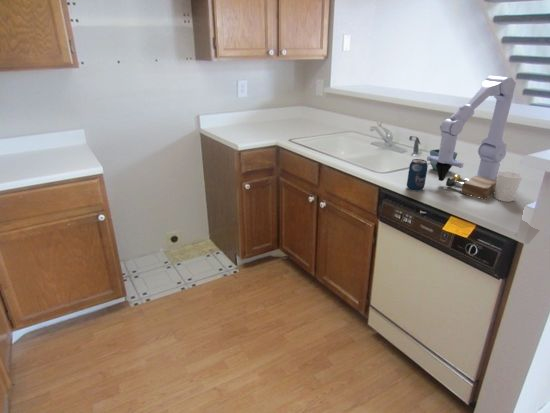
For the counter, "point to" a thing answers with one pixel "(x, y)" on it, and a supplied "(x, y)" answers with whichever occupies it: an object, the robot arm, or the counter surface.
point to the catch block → (479, 187)
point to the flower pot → (436, 153)
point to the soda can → (417, 174)
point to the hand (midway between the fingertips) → (441, 180)
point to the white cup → (507, 185)
